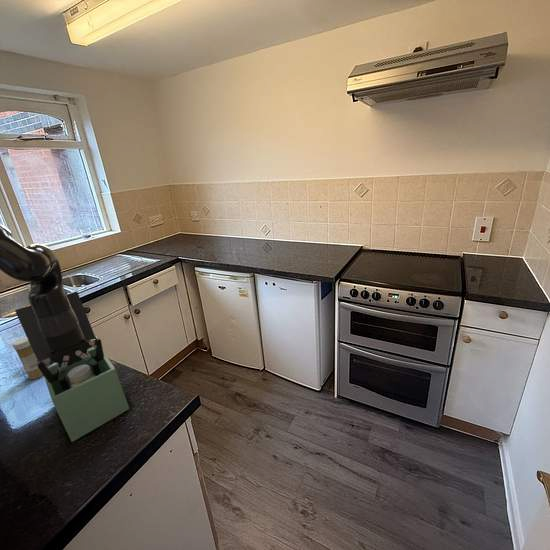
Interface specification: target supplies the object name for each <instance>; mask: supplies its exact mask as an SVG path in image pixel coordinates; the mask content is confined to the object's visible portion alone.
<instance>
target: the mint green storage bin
mask: <svg viewBox="0 0 550 550" xmlns="http://www.w3.org/2000/svg"><path fill="white" fill-rule="evenodd" d="M87 353H89V354H90V355H91V356H93V357H95V356H96V349H95V347H92V348H89V349H88V350H87ZM103 354H104V359H103V360H100V361H99V362H98V365H99V368H100V371H101V373H100V374H99V375H98V376H95V377H93V378H91V379H89V380H87V381H85V382H83V383H81V384H79V385H77V386H75V387H73V388H70V389H68V390H65V391H64V390H63V389H62V387H61V384H60V382H59V381H54V382H52V383H49V382H48V380H47V379H46V378H45V376H44V375H43V377H44V381H45V384H46V387H47V390H48V393H49V396H50V399H51V402H52V404H53V405H54V407H55V410H56V412H57V414H58V416H59V418H60V420H61V423H62V425H63V427H64V430H65V431H66V433H67V436H68V437H69V439H70V442H71V443H74V442H75V441H77V440H78V439H80V438H82V437H84V436H85V435H88V433H90V432H92V431H93V430H94V431H95V430H96V429H97V428H99V427H101V426H102V425H104V424H106V423H107V422H109V421H111V420H113V419H114V418H116V417H118V416H120V415H121V414H124V412H126V411H128V410H130V406H129V404H128V400H127V398H126V395H125V392H124V390H123V387H122V383H121V381H120V378H119V375H118V372H117V369H116V368H115V366H114V365H113V363H112V362H111V361H110V360H109V358H108V357H107V355H106V354H105V352H103ZM85 364H86V365H89V366H90V368H91V370H92V373H94V372H93V369H92V366H91V364H90V363H89V362H87V361H85V360H84V359H82V360H81V361H79V362H75V363H73V364H72V365H70V366H67V369H66V372H65V378H66V381H67V383H68V385H69V384H70V381H69V379H68V376H67V374H68V372H69V371H70V370H72V369H73V368H75V367H77V366H80V365H85ZM48 369H49V370H50V372H51V373H52V374H57V369H58V363H54V364H51V365H50V366H49V367H48Z"/></svg>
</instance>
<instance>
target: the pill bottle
mask: <svg viewBox="0 0 550 550" xmlns="http://www.w3.org/2000/svg"><path fill="white" fill-rule="evenodd" d="M67 376H68V379H69V381H70V384H69V387H70V388H73V387H75V386H77V385H79V384H81V383H83V382H85V381H87V380H89V379H91V378H93V377H95V376H96V375H95V374H94V373H92V370H91V368H90V366H89V365H86V364H85V365H80V366H77V367H75V368H73V369H72V370H70V371H69V372H68V374H67Z"/></svg>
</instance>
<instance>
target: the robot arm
mask: <svg viewBox="0 0 550 550" xmlns="http://www.w3.org/2000/svg"><path fill="white" fill-rule="evenodd" d="M0 271H1V272H2V273H4V274H5V275H6V276H8V277H9V278H12V279H14V280H16V281H19V282H23V283H28V284H29V285H30V290H29V292H28V295H27V298H28V303H29V305H31V307H32V310H33V312H34V314H35V316H36V319H37V324H38V327H39V329H40V332H41V334H42V336H43V338H44V340H45V343H46V345H47V347H48V349H49V352H50V353H49V357H47V358H45V359H43V360H42V359H39V360H37V366H38V368H39V369H40V371H41V372H42V373H43V375H42V376H43V377H44V376H45V378H46V379H47V380H48V382H49V383H52V382H54V381H59V382H60V384H61V387H62V389H63V390H64V391H65V390H68V389H70V387H69V385H68V383H67V381H66V378H65V372H66V369H67V366H70V365H72V364H73V363H75V362H79V361H81V360H82V359H84V360H85V361H87V362H89V363H90V364H91V366H92V369H93V372H94V374H95V375H96V376H98V375H99V374H100V373H101V371H100V368H99V365H98V362H99V361H100V360H103V359H104V354H105V353H104V350H103V343H102V340H101V338H100V337H99V336H97V335H95V337H94V339H91V340H88V341H87V340H86V339H85V338H84V335H83V333H82V330H81V327H80V325H79V322H78V318H77V317H76V314H75V312H74V310H73V309H72V307H71V305H70V302H69V300H68V297H67V295H66V294H67V292H66V290H65V288H64V287H65V286H64V278H63V273H62V267H61V263H60V260H59V258H58V256H57V254H56V253H55V252H54V250H52V249H51V248H50V247H49V246H46V245H44V244H39V243H35V244H30V245H28V246H26V247H24V246H23V245H22V244H20V243H18V242H17V241H15V239H13V234H12V232H11V230H9V229H8V228H7V227H5V226H4V225H2V224H0ZM89 345H92V346H93V347H92V348H95V349H96V356H95V357H93V356H91V355H90V354H89V353H87V351H88V350H89V349H88V347H89ZM103 353H104V354H103ZM50 361H53V362H56V363H55V364H57V363H58V369H57V374H52V373H51V372H50V370H49V369H48V367H50V366H51V365H50V364H49V363H50ZM45 378H44V379H45Z"/></svg>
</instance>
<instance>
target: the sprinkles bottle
mask: <svg viewBox="0 0 550 550" xmlns="http://www.w3.org/2000/svg"><path fill="white" fill-rule="evenodd" d="M12 347H13V349H14V351H15V352H16V354H17V356H18V358H19V360H20V362H21V364H22V366H23V368H24V371H25V372H26V374H27V376H28V379H29V380H36V379H39V378H41V377H43V376H44V375H43V373H42V372H41V371H40V369H39V368H38V366H37V358H36V356H35V354H34V352H33V349H32V347H31V345H30V343H29V341H28V338H27V336H24V337H21V338H18V339H16V340H14V341H13V342H12Z"/></svg>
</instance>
